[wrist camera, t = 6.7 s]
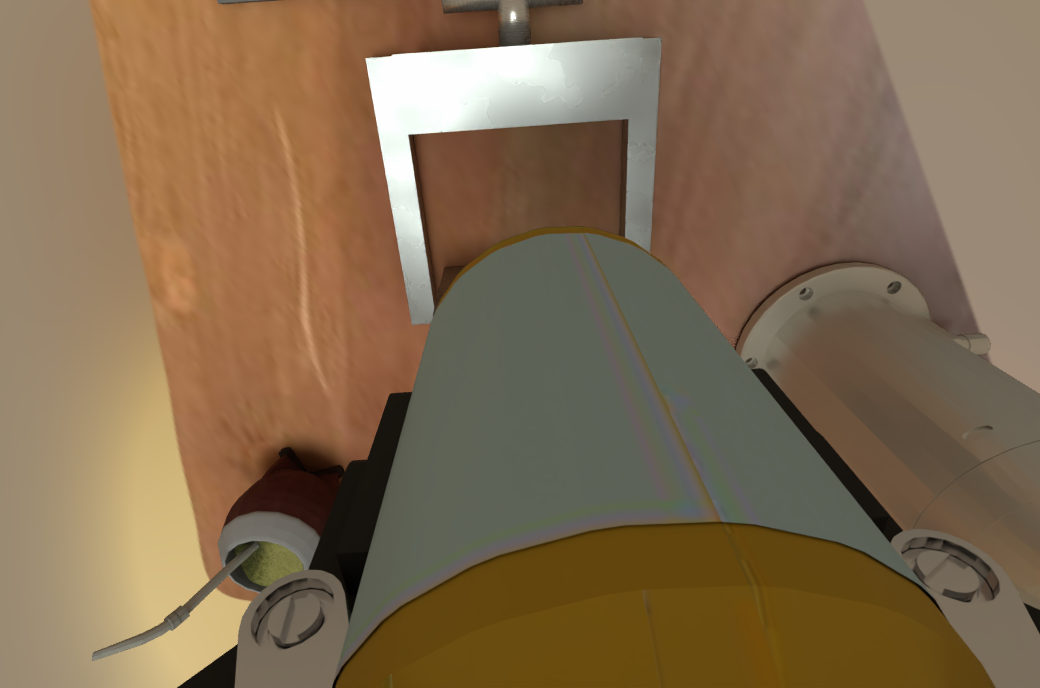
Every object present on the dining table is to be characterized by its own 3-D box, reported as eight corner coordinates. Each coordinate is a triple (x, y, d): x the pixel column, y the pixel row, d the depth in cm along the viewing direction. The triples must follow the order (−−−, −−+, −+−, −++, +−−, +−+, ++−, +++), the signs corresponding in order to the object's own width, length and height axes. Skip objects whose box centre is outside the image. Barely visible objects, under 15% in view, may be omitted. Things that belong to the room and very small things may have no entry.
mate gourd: (368, 500, 42) (308, 706, 29) (275, 524, 43) (176, 735, 29) (324, 426, 38) (232, 621, 25) (224, 454, 39) (85, 657, 26)
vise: (656, -19, 26) (705, -42, 20) (641, 298, 34) (672, 350, 28) (362, 1, 26) (321, -15, 20) (415, 314, 34) (397, 370, 28)
